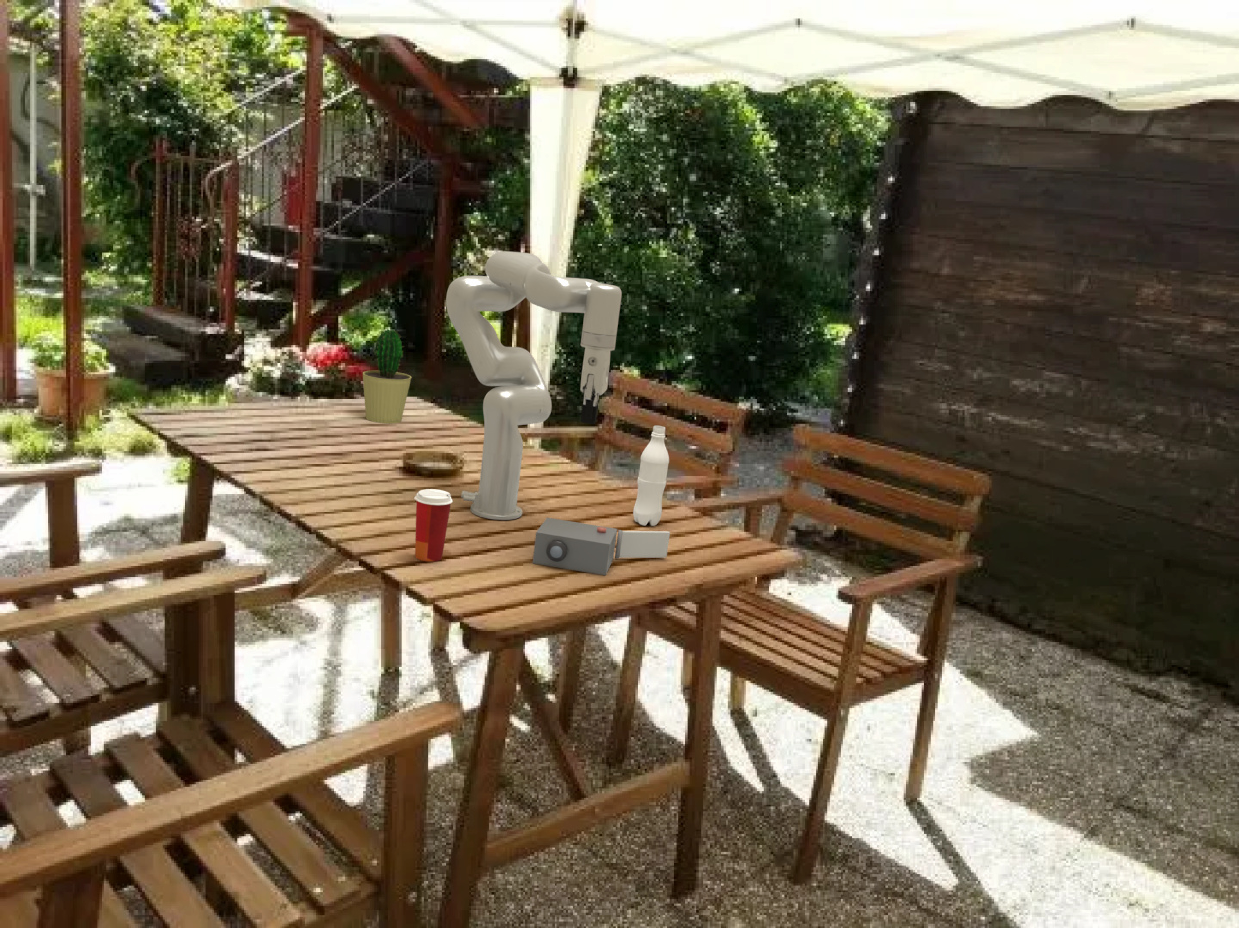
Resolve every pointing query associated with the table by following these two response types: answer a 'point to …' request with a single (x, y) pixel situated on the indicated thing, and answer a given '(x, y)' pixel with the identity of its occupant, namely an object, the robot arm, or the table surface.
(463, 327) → the robot arm
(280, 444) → the table surface
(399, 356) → the potted cactus
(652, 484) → the water bottle
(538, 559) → the camera body
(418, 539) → the paper cup
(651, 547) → the side door
